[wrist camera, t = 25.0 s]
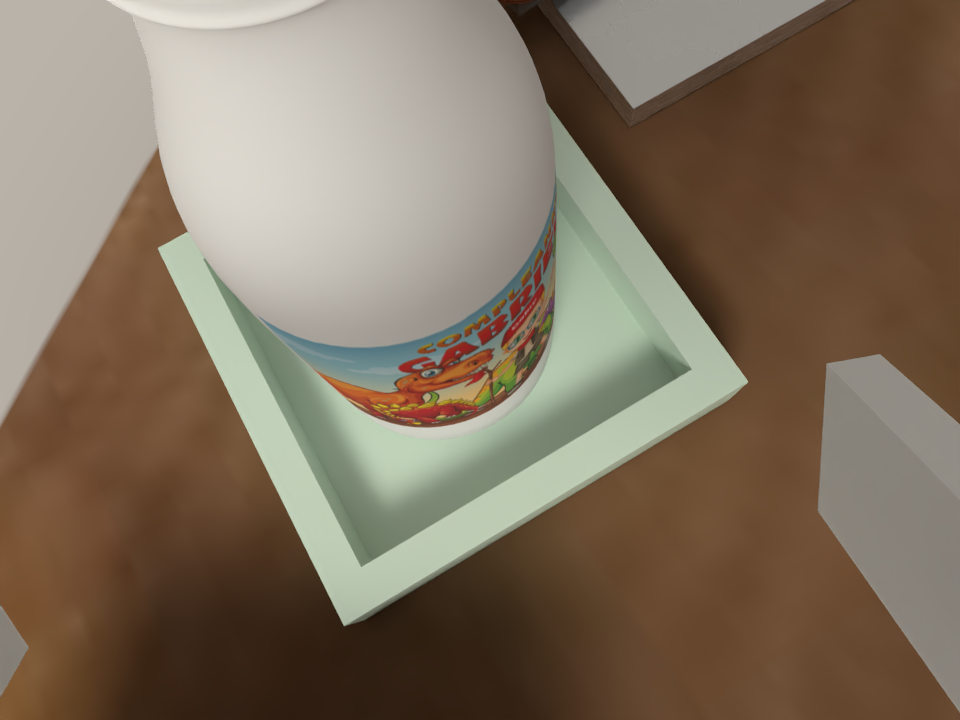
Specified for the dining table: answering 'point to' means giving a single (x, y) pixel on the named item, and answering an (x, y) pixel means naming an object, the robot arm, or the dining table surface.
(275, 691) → the dining table surface
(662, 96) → the crank plate
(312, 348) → the milk bottle
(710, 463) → the dining table surface
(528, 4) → the crank
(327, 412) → the tray
